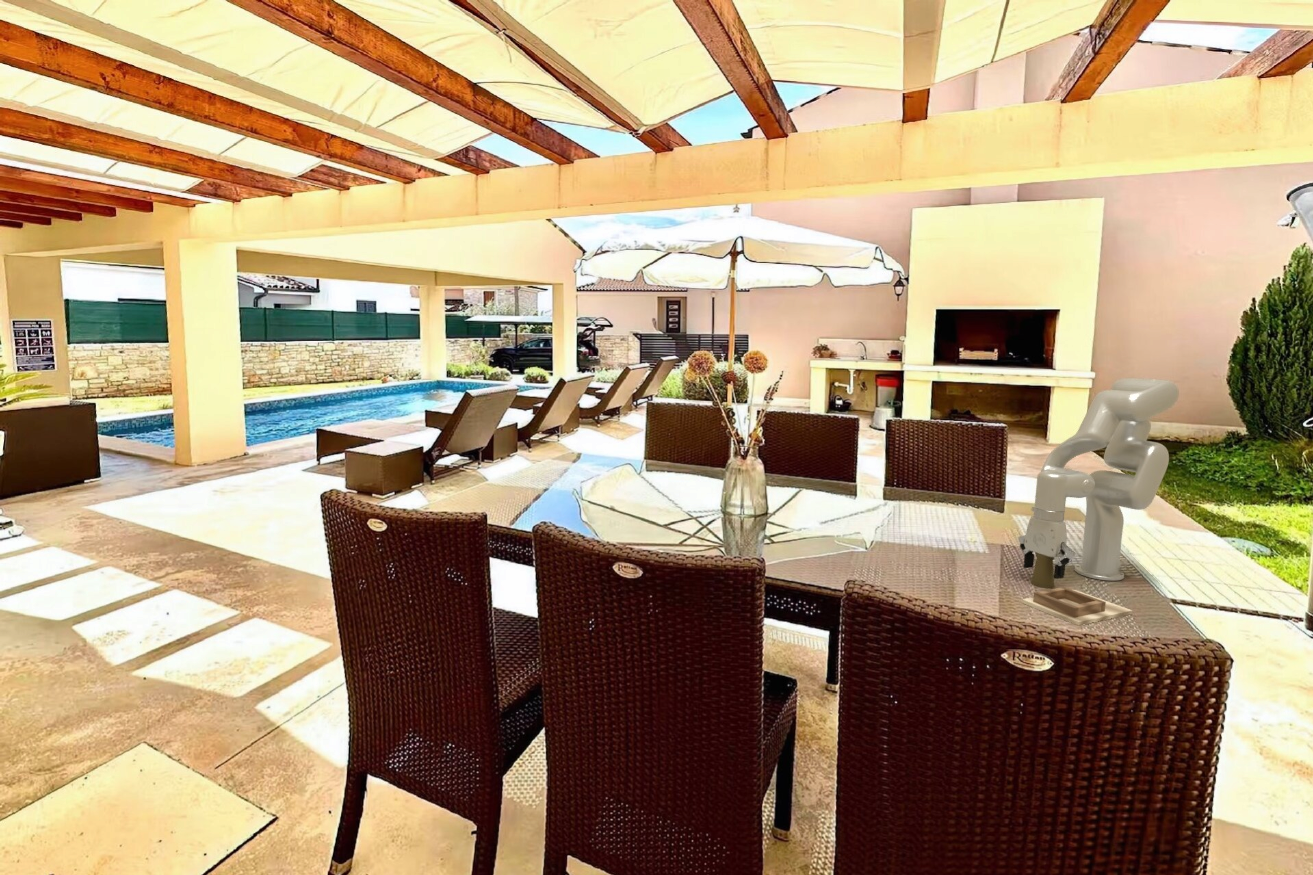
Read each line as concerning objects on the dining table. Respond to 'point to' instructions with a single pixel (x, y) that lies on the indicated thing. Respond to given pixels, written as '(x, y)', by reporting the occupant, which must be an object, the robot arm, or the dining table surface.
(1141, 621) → the dining table surface
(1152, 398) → the robot arm
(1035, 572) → the cork
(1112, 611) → the socket stand
